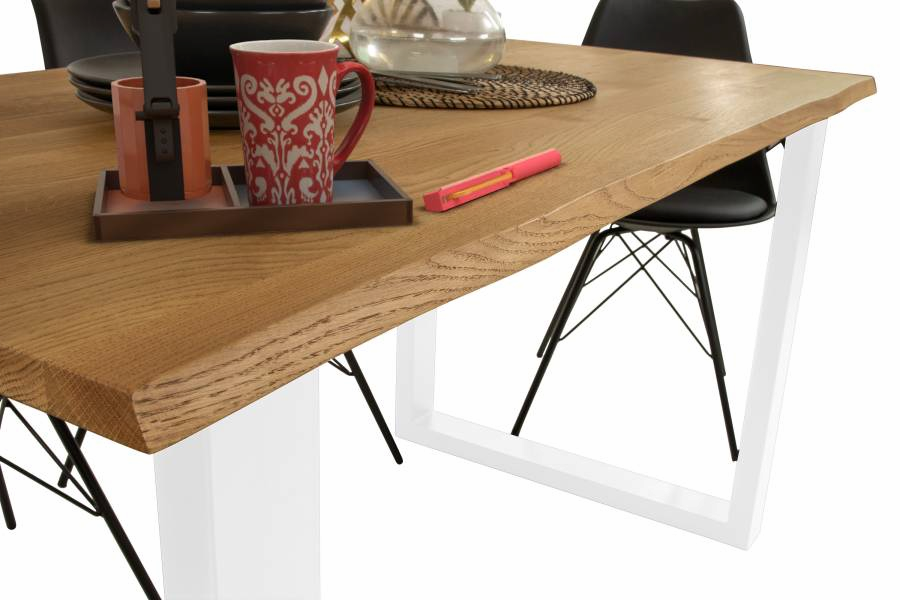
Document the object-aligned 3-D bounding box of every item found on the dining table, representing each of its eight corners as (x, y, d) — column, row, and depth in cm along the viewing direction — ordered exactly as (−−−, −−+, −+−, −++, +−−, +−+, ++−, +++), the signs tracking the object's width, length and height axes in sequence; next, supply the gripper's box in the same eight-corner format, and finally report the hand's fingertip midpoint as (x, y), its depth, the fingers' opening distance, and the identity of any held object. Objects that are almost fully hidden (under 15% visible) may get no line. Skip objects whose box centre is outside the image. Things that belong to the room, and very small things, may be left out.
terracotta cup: (214, 199, 82) (208, 88, 79) (120, 203, 80) (110, 89, 77) (208, 178, 89) (203, 75, 86) (121, 182, 87) (112, 76, 84)
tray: (95, 247, 77) (92, 215, 76) (101, 196, 91) (99, 169, 90) (412, 229, 84) (413, 199, 83) (372, 184, 98) (372, 159, 97)
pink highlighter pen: (410, 219, 89) (453, 211, 87) (404, 196, 89) (447, 187, 86) (535, 172, 109) (574, 164, 106) (531, 152, 108) (569, 144, 105)
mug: (257, 222, 82) (250, 52, 77) (223, 197, 89) (214, 40, 85) (396, 206, 88) (397, 47, 83) (353, 183, 95) (352, 37, 91)
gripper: (97, -103, 85) (121, 163, 93) (86, -111, 67) (117, 222, 75) (188, -100, 87) (204, 160, 95) (203, -107, 69) (220, 217, 77)
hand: (166, 187), depth 85 cm, fingers closed on terracotta cup, 7 cm apart
